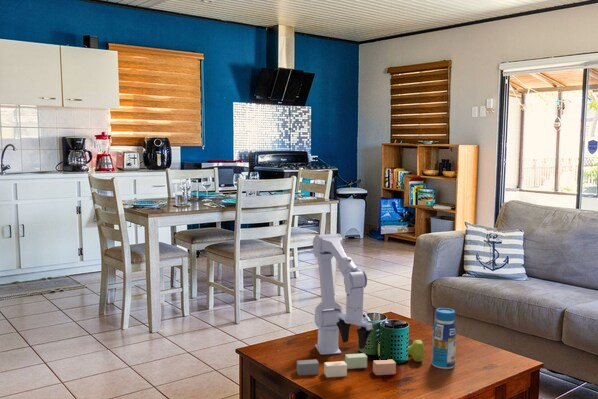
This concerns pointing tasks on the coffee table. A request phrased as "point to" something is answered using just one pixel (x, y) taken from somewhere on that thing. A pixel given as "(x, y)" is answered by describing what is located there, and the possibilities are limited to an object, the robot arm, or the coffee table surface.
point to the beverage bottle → (444, 339)
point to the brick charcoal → (307, 367)
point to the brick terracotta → (384, 367)
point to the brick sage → (356, 360)
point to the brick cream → (335, 369)
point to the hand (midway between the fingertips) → (353, 345)
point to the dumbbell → (413, 350)
